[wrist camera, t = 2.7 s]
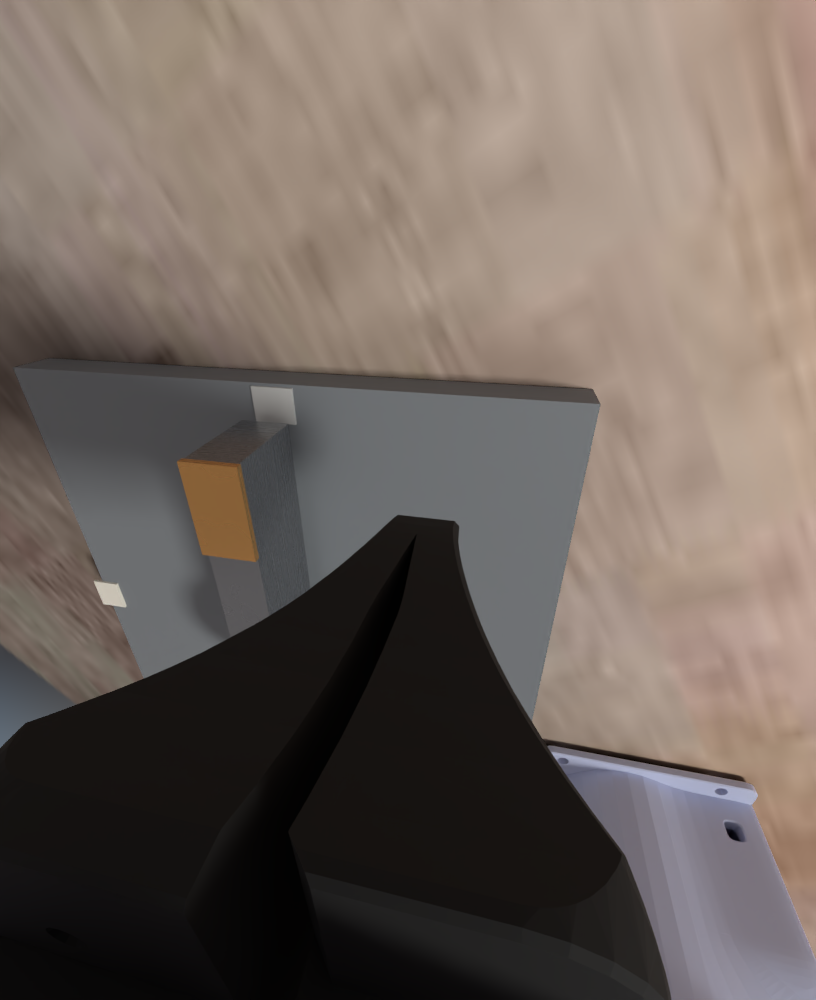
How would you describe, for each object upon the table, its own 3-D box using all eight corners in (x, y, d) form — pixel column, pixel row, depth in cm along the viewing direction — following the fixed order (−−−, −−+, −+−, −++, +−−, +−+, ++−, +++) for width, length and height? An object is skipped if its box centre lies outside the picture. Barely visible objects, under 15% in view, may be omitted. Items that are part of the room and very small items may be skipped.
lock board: (592, 389, 14) (600, 404, 13) (513, 775, 25) (513, 806, 23) (40, 357, 18) (1, 367, 16) (175, 706, 28) (158, 730, 27)
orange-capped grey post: (336, 421, 15) (285, 472, 11) (356, 672, 20) (326, 752, 17) (210, 411, 15) (131, 457, 12) (264, 656, 21) (220, 730, 18)
